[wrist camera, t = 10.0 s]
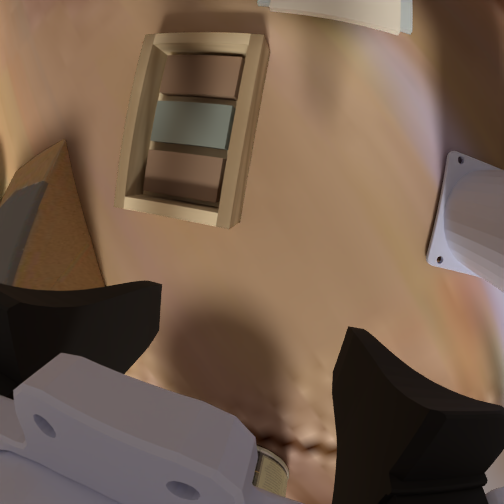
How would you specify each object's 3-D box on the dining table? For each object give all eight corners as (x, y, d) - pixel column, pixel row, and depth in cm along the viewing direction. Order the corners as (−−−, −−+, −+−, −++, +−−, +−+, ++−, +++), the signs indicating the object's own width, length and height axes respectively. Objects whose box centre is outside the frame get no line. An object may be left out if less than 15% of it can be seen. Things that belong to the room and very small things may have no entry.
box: (270, 52, 18) (264, 34, 15) (239, 222, 21) (229, 229, 18) (163, 48, 19) (145, 34, 16) (135, 202, 22) (113, 206, 19)
